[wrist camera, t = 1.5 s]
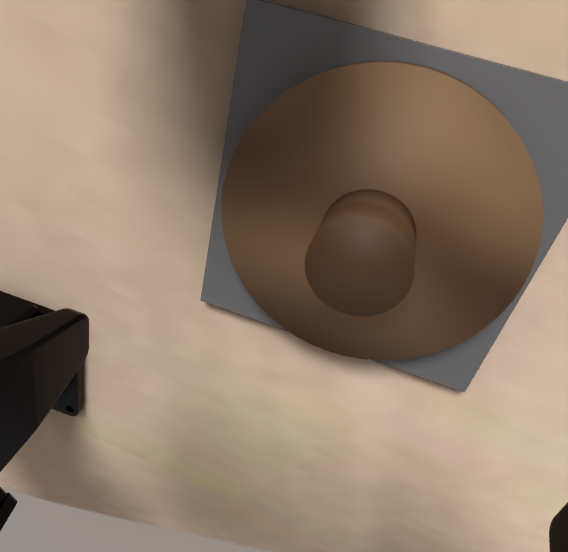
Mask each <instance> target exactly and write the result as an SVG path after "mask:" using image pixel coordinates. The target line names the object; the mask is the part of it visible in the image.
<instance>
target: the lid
mask: <svg viewBox="0 0 568 552" xmlns="http://www.w3.org/2000/svg"><path fill="white" fill-rule="evenodd" d="M221 216H222V228H223V234H224V240H225V244H226V247H227V250H228V253H229V257H230V260H231V262H232V264H233V266H234V268H235V271H236V273H237V275H238V277H239V278H240V280H241V282H242V283H243V285H244V287H245V288H246V290H247V291H248V292H249V294H250V295H251V296H252V298H253V299H254V300H255V302H256V303H257V304H258V305H259V306H260V307H261V308H262V309H263V310H264V311H265V312H266V313H267V314H268V315H269V316H270V317H271V318H272V319H273V320H275V321H276V322H277V323H278V324H279V325H281V326H282V327H283V328H285V329H286V330H288V331H289V332H291V333H292V334H294V335H295V336H297V337H299V338H301V339H303V340H305V341H306V342H308V343H310V344H312V345H315V346H317V347H320V348H322V349H325V350H327V351H330V352H334V353H337V354H341V355H344V356H349V357H355V358H360V359H370V360H401V359H408V358H416V357H420V356H425V355H429V354H433V353H436V352H439V351H442V350H444V349H447V348H450V347H453V346H455V345H457V344H459V343H461V342H463V341H465V340H467V339H469V338H470V337H472V336H473V335H475V334H476V333H478V332H479V331H481V330H482V329H484V328H485V327H487V326H488V325H489V324H490V323H491V322H492V321H494V320H495V319H496V318H497V317H498V316H499V315H501V313H502V312H503V311H504V310H505V309H506V308H507V307H508V306H509V305H510V303H511V302H512V301H513V300H514V299H515V297H516V296H517V294H518V293H519V291H520V290H521V288H522V287H523V285H524V284H525V282H526V280H527V278H528V276H529V274H530V272H531V270H532V268H533V265H534V262H535V259H536V256H537V253H538V250H539V247H540V241H541V234H542V228H543V201H542V195H541V188H540V182H539V179H538V176H537V173H536V170H535V167H534V164H533V161H532V159H531V157H530V155H529V153H528V151H527V149H526V147H525V145H524V143H523V141H522V140H521V138H520V137H519V135H518V134H517V133H516V131H515V130H514V128H513V127H512V126H511V124H510V123H509V122H508V120H507V119H506V118H505V116H504V115H503V114H502V113H501V112H500V111H499V110H498V109H497V108H496V107H495V106H494V105H493V104H492V103H491V102H490V101H489V100H488V99H487V98H486V97H485V96H483V95H482V94H481V93H479V92H478V91H477V90H475V89H474V88H472V87H471V86H470V85H468V84H466V83H464V82H463V81H461V80H459V79H457V78H455V77H453V76H451V75H449V74H447V73H444V72H441V71H438V70H436V69H433V68H430V67H427V66H423V65H418V64H413V63H408V62H402V61H382V60H378V61H367V62H356V63H352V64H348V65H344V66H340V67H335V68H332V69H330V70H327V71H325V72H322V73H320V74H317V75H314V76H313V77H311V78H309V79H307V80H305V81H304V82H302V83H300V84H298V85H296V86H295V87H293V88H291V89H289V90H288V91H286V92H285V93H283V94H282V95H281V96H280V97H278V98H277V99H276V100H274V101H273V102H272V103H270V104H269V105H268V106H267V107H266V108H265V109H264V110H263V111H262V112H261V113H260V114H259V115H258V116H257V117H256V118H255V120H254V121H253V122H252V124H251V125H250V126H249V128H248V129H247V130H246V132H245V133H244V134H243V136H242V138H241V140H240V141H239V143H238V145H237V147H236V149H235V151H234V152H233V155H232V158H231V160H230V163H229V166H228V168H227V171H226V176H225V180H224V185H223V190H222V202H221Z"/></svg>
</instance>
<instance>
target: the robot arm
mask: <svg viewBox="0 0 568 552" xmlns="http://www.w3.org/2000/svg"><path fill="white" fill-rule="evenodd" d="M88 350H89V319H88V317H87V315H85V314H83V313H81V312H78V311H75V310H72V309H68V308H65V309H61V310H58V311H54V310H51V309H48V308H46V307H43V306H40V305H37V304H35V303H32V302H29V301H26V300H24V299H21V298H18V297H15V296H13V295H10V294H7V293H4V292H2V291H0V472H1V471H2V469H3V468H4V467H5V466H6V465H7V464H8V462H9V461H10V460H11V459H12V458H13V456H14V455H15V454H16V453H17V452H18V451H19V449H20V448H21V447H22V446H23V445H24V444H25V442H26V441H27V440H28V439H29V438H30V436H31V435H32V434H33V433H34V432H35V430H36V429H37V428H38V427H39V425H40V424H41V422H42V421H43V420H44V418H45V417H46V416H47V414H48V413H49V411H50V410H51V408H52V409H54V410H57V411H60V412H62V413H65V414H67V415H70V416H76V415H78V413H79V412H80V411H81V410H82V408H83V387H82V363H83V362H84V360H85V358H86V356H87V354H88ZM16 504H17V501H16V499H15V498H14V497H12V495H11V494H10V493H5V491H4V490H3V489H2V488H1V487H0V531H1V529H2V527H3V525H4V524H5V522H6V521H7V519H8V517H9V516H10V514H11V512H12V511H13V509H14V507H15V506H16ZM549 542H550V552H568V503H567V504H566V505H565V506H564V507H563V508H562V509H561V510H560V511H559V512H558V514H557V515H556V516H555V517H554V518H553V520H552V522H551V525H550V530H549Z"/></svg>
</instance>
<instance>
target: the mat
mask: <svg viewBox="0 0 568 552" xmlns="http://www.w3.org/2000/svg"><path fill="white" fill-rule="evenodd" d="M378 60H382V61H402V62H408V63H413V64H418V65H423V66H427V67H430V68H433V69H436V70H438V71H441V72H444V73H447V74H449V75H451V76H453V77H455V78H457V79H459V80H461V81H463V82H464V83H466V84H468V85H470V86H471V87H472V88H474V89H475V90H477V91H478V92H479V93H481V94H482V95H483V96H485V97H486V98H487V99H488V100H489V101H490V102H491V103H492V104H493V105H494V106H495V107H496V108H497V109H498V110H499V111H500V112H501V113H502V114H503V115H504V116H505V118H506V119H507V120H508V122H509V123H510V124H511V126H512V127H513V128H514V130H515V131H516V133H517V134H518V135H519V137H520V138H521V140H522V141H523V143H524V145H525V147H526V149H527V151H528V153H529V155H530V157H531V159H532V161H533V164H534V167H535V170H536V173H537V176H538V179H539V182H540V188H541V195H542V201H543V228H542V234H541V241H540V247H539V250H538V253H537V256H536V259H535V262H534V265H533V268H532V270H531V272H530V274H529V276H528V278H527V280H526V282H525V284H524V285H523V287H522V288H521V290H520V291H519V293H518V294H517V296H516V297H515V299H514V300H513V301H512V302H511V303H510V305H509V306H508V307H507V308H506V309H505V310H504V311H503V312H502V313H501V315H499V316H498V317H497V318H496V319H495V320H494V321H492V322H491V323H490V324H489V325H488V326H487V327H485V328H484V329H482V330H481V331H479V332H478V333H476V334H475V335H473V336H472V337H470V338H469V339H467V340H465V341H463V342H461V343H459V344H457V345H455V346H453V347H450V348H447V349H444V350H442V351H439V352H436V353H433V354H429V355H425V356H420V357H416V358H408V359H401V360H373V361H376V362H378V363H381V364H384V365H387V366H390V367H393V368H396V369H399V370H401V371H404V372H407V373H410V374H413V375H416V376H419V377H422V378H425V379H427V380H430V381H433V382H436V383H439V384H442V385H445V386H448V387H450V388H453V389H456V390H459V391H462V392H465V391H466V389H467V387H468V386H469V384H470V382H471V380H472V379H473V377H474V375H475V374H476V372H477V370H478V369H479V367H480V365H481V364H482V362H483V360H484V359H485V357H486V355H487V353H488V352H489V350H490V348H491V347H492V345H493V343H494V342H495V340H496V338H497V337H498V335H499V333H500V332H501V330H502V328H503V326H504V325H505V323H506V321H507V320H508V318H509V316H510V315H511V313H512V311H513V310H514V308H515V306H516V304H517V303H518V301H519V299H520V298H521V296H522V294H523V293H524V291H525V289H526V288H527V286H528V284H529V283H530V281H531V279H532V277H533V276H534V274H535V272H536V271H537V269H538V267H539V266H540V264H541V262H542V261H543V259H544V257H545V255H546V254H547V252H548V250H549V249H550V247H551V245H552V244H553V242H554V240H555V239H556V237H557V235H558V234H559V232H560V230H561V228H562V227H563V225H564V223H565V222H566V220H567V218H568V82H567V81H563V80H559V79H555V78H552V77H548V76H544V75H540V74H537V73H533V72H529V71H525V70H522V69H518V68H514V67H510V66H507V65H503V64H499V63H495V62H492V61H488V60H484V59H480V58H477V57H473V56H469V55H465V54H462V53H458V52H454V51H451V50H447V49H443V48H439V47H436V46H432V45H428V44H424V43H421V42H417V41H413V40H409V39H406V38H402V37H398V36H394V35H391V34H387V33H383V32H379V31H376V30H372V29H368V28H364V27H361V26H357V25H353V24H349V23H346V22H342V21H338V20H335V19H331V18H327V17H323V16H320V15H316V14H312V13H308V12H305V11H301V10H297V9H293V8H290V7H286V6H282V5H278V4H275V3H271V2H267V1H263V0H246V7H245V14H244V20H243V27H242V33H241V40H240V46H239V53H238V59H237V66H236V72H235V79H234V85H233V92H232V98H231V105H230V111H229V118H228V124H227V131H226V137H225V144H224V151H223V157H222V164H221V170H220V177H219V183H218V190H217V196H216V203H215V209H214V216H213V222H212V229H211V235H210V242H209V248H208V255H207V261H206V268H205V275H204V281H203V288H202V294H201V301H203V302H206V303H209V304H212V305H214V306H217V307H220V308H223V309H226V310H229V311H232V312H235V313H237V314H240V315H243V316H246V317H249V318H252V319H255V320H258V321H260V322H263V323H266V324H269V325H272V326H275V327H278V328H281V329H283V330H286V329H285V328H283V327H282V326H281V325H279V324H278V323H277V322H276V321H275V320H273V319H272V318H271V317H270V316H269V315H268V314H267V313H266V312H265V311H264V310H263V309H262V308H261V307H260V306H259V305H258V304H257V303H256V302H255V300H254V299H253V298H252V296H251V295H250V294H249V292H248V291H247V290H246V288H245V287H244V285H243V283H242V282H241V280H240V278H239V277H238V275H237V273H236V271H235V268H234V266H233V264H232V262H231V260H230V257H229V253H228V250H227V247H226V244H225V240H224V234H223V228H222V216H221V202H222V190H223V185H224V180H225V176H226V171H227V168H228V166H229V163H230V160H231V158H232V155H233V152H234V151H235V149H236V147H237V145H238V143H239V141H240V140H241V138H242V136H243V134H244V133H245V132H246V130H247V129H248V128H249V126H250V125H251V124H252V122H253V121H254V120H255V118H256V117H257V116H258V115H259V114H260V113H261V112H262V111H263V110H264V109H265V108H266V107H267V106H268V105H269V104H270V103H272V102H273V101H274V100H276V99H277V98H278V97H280V96H281V95H282V94H283V93H285V92H286V91H288V90H289V89H291V88H293V87H295V86H296V85H298V84H300V83H302V82H304V81H305V80H307V79H309V78H311V77H313V76H314V75H317V74H320V73H322V72H325V71H327V70H330V69H332V68H335V67H340V66H344V65H348V64H352V63H356V62H367V61H378ZM286 331H288V330H286Z"/></svg>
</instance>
